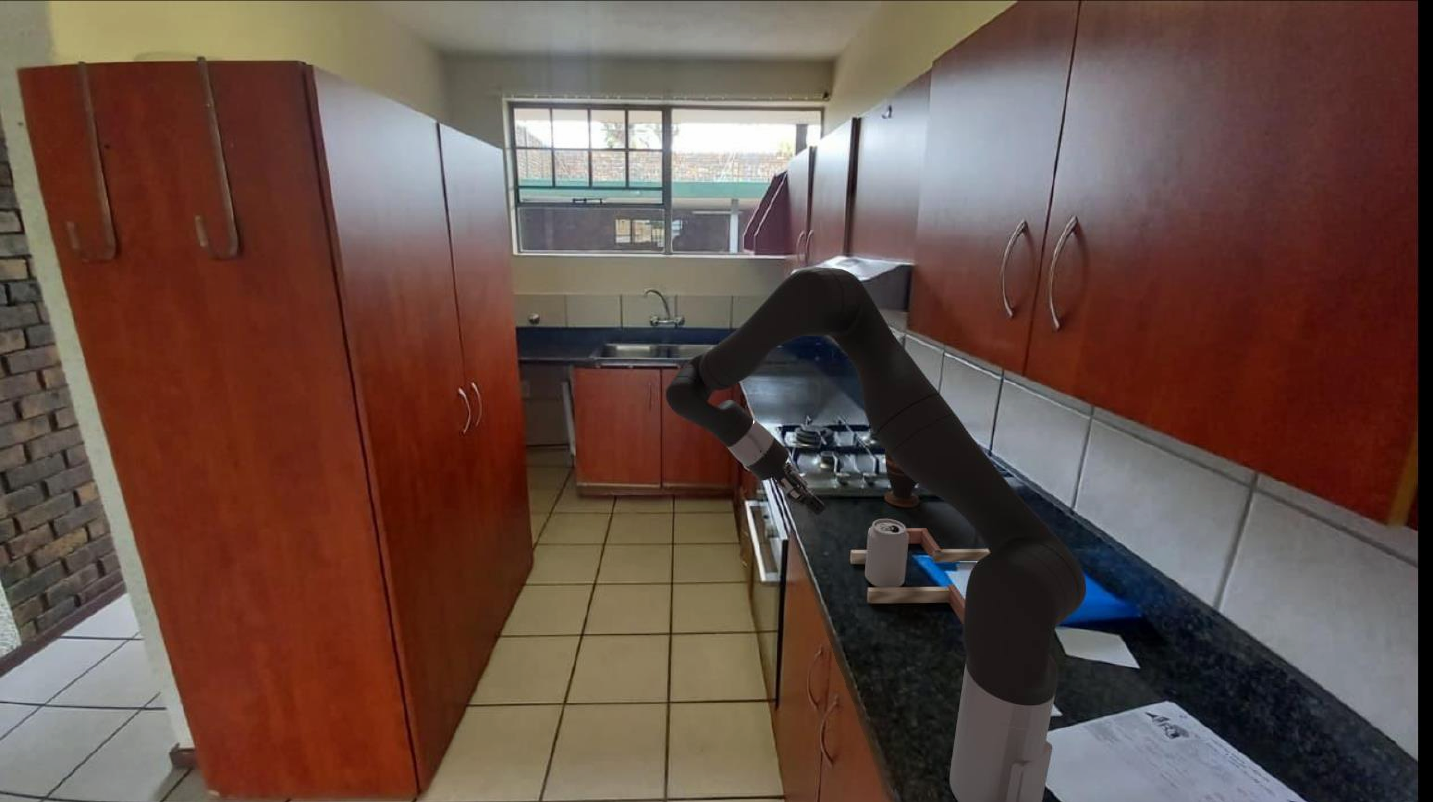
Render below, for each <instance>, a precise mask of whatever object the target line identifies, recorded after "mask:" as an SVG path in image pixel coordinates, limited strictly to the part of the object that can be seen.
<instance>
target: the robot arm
mask: <svg viewBox="0 0 1433 802" xmlns="http://www.w3.org/2000/svg"><path fill="white" fill-rule="evenodd" d="M804 336H807V337H824V336H825V337H826V336H827V337H828V336H829V337H830V338H831V339H833V340H834V342H836V344H837V345H838V346H839V347H840V349H841V350H842V351H843V353H844V354H845V355H846V357H847V358H848V359H849V360H850V362H851V364H852V365H853V368H854V369H855V371H856V373H857V376H858V379H859V383H860V389H861V397H862V404H863V408H864V412H865V413H864V414H865V416H866V419H867V422H868V424H869V426H870V428H871V430H872V431H873V433H874V435H875V436H876V437H877V439H878V441H879V442H880V443H881V445H882V446H883V448H884V449H886V451H887V452H888V454H889V455H890V457H891V458H892V459H893V461H894V462H895V463H896V464H897V466H898V467H899V468H900V469H901V470H902V471H903V472H904V473H905V474H906V475H908V476H909V477H910V478H911V479H913V480H914V481H915V482H917V485H919V486H921V487H923V488H924V489H925V490H927V491H929V492H930V493H932V494H933V495H935V496H936V497H938V498H939V499H941V500H942V501H944V502H945V503H946V504H948V505H949V506H951V507H952V508H954V510H956V511H957V512H958V513H959V514H960V515H961V516H962V517H963V518H964V519H965V520H966V521H967V522H968V524H969V525H970V526H971V527H972V529H973V530H974V531H975V532H976V534H977V535H978V536H979V538H980V539H981V540H982V543H983V544H984V545H985V547H986V549H988V550H989V551H990V553H989V554H988V555H986V556H985V557H983V558H981V559H980V560H979V561H978V562H977V563H974V565H973V566H972V568H971V571H970V573H969V576H968V579H967V584H966V590H965V597H964V599H965V608H964V620H963V624H962V635H961V636H962V644H963V648H964V651H965V653H966V661H965V665H964V673H963V679H962V685H961V686H962V687H961V693H960V701H959V709H958V715H957V721H956V722H957V723H956V728H955V735H954V736H955V737H954V742H953V749H952V757H951V762H950V773H949V786H950V789H951V791H952V794H953V795H954V797H955V799H956V800H957V802H1043V797H1044V793H1045V788H1046V783H1047V779H1048V772H1049V767H1050V763H1051V759H1052V754H1053V753H1052V752H1053V744H1051V743H1050V742H1048V741H1047V737H1048V733H1049V728H1050V722H1051V718H1052V717H1051V716H1052V712H1053V706H1054V702H1055V701H1054V700H1055V698H1056V697H1055V696H1056V692H1057V689H1058V683H1059V676H1060V675H1059V673H1060V671H1059V668H1058V663H1057V662H1056V660H1055V658H1054V657H1053V656H1052V654H1051V649H1052V644H1053V637H1054V633H1055V630H1056V628H1057V627H1058V626H1060V625H1061V624H1062V623H1063V622H1064V621H1065V620H1066V619H1068V618H1069V617H1070V616H1072V614H1074V613H1075V612H1076V611H1077V610H1078V609H1079V607H1081V605H1082V604H1083V602H1084V600H1085V599H1086V595H1087V583H1086V578H1085V574H1084V571H1083V569H1082V567H1081V566H1080V564H1079V562H1078V561H1077V559H1076V557H1075V555H1074V554H1073V553H1072V552H1071V551H1070V550H1069V548H1068V547H1067V546H1066V544H1064V543H1063V542H1062V540H1061V539H1060V538H1059V537H1058V536H1057V535H1056V534H1055V532H1054V531H1053V530H1052V529H1050V527H1049V526H1048V525H1047V524H1046V523H1045V522H1044V521H1043V520H1042V519H1041V518H1040V516H1039V515H1038V514H1037V513H1036V512H1035V511H1034V510H1033V509H1032V508H1031V507H1030V506H1029V505H1028V504H1027V503H1026V502H1025V500H1024V499H1022V497H1021V496H1020V495H1019V494H1018V493H1017V491H1016V490H1015V489H1014V488H1013V487H1012V486H1011V484H1010V483H1009V482H1008V481H1007V480H1006V478H1005V477H1004V476H1003V475H1002V473H1001V472H1000V470H999V469H998V468H997V467H996V466H995V463H993V462H992V460H991V459H990V458H989V456H988V455H987V454H986V453H985V451H984V450H983V449H982V448H981V446H980V445H979V444H978V443H977V442H976V441H975V439H974V438H973V437H972V435H971V434H970V432H969V431H968V430H967V428H966V427H965V426H964V423H963V422H962V421H961V419H959V418H960V417H958V415H957V413H955V411H954V410H953V409H952V407H951V406H950V405H949V404H948V402H947V401H946V400H945V399H944V397H943V396H942V395H941V393H940V392H939V390H938V389H936V387H935V386H934V385H933V384H932V382H931V381H930V380H929V378H928V377H927V376H926V375H925V373H923V371H922V370H921V369H920V367H919V366H918V364H917V363H916V361H915V360H914V359H913V358H912V356H911V355H910V354H909V352H908V351H907V350H906V349H905V348H904V346H903V345H902V344H901V342H900V341H899V340H898V338H897V337H896V336H895V334H894V333H893V331H892V330H891V328H890V326H889V325H888V324H887V322H886V320H885V318H884V316H883V315H882V314H881V311H880V310H879V308H878V307H877V305H876V303H875V302H874V300H873V298H872V297H871V295H870V294H869V291H868V290H867V289H866V287H865V285H864V284H863V283H862V282H861V280H860V279H859V278H858V277H857V276H856V275H855V274H853V272H850V271H848V270H845V269H843V268H838V267H837V268H835V267H819V266H810V267H802V268H799V269H798V270H796V271H794V272H792V273H791V274H789V276H788V277H787V278H786V279H785V280H784V281H782V283H780V284H779V286H778V287H777V288H776V289H775V290H774V291H773V292H772V293H771V294H770V296H769V297H768V298H767V299H766V300H765V301H764V302H763V303H762V304H761V305H760V306H759V307H758V309H756V311H754V312H753V314H752V315H751V316H750V317H749V318H748V319H747V320H746V321H745V322H744V323H743V324H742V325H741V326H739V328H737V329H736V330H735V331H734V332H732V333H731V334H730V335H729V336H727V337H726V338H725V339H723V340H722V341H720V342H719V343H718V344H716V345H714V347H712V348H711V349H710V350H708V351H707V352H704V353H701V354H699V355H696V356H695V357H693V358H691V359H690V360H688V361H687V362H686V363H685V364H684V365H683V366H682V368H681V369H680V370H679V371H678V373H677V374H676V375H675V377H674V378H673V380H671V382H670V383H669V384H668V386H667V388H666V390H665V399H666V402H667V404H668V406H669V407H670V409H671V410H672V411H673V412H674V413H675V414H677V415H679V416H680V417H682V418H684V419H685V420H686V421H687V420H688V422H689V421H690V422H691V423H693V424H695V425H696V426H699V427H700V428H702V429H704V430H706V431H708V432H709V433H711V434H712V435H713V436H714V437H716V439H718V441H719V442H721V444H722V445H724V446H725V447H726V449H728V450H729V451H730V453H731V454H732V455H733V456H734V458H736V459H737V460H738V461H739V462H740V463H741V464H742V465H743V466H744V467H745V468H746V469H747V470H748V471H750V472H751V474H753V475H754V476H755V477H756V478H757V479H758V480H759V481H761V482H762V481H763V482H764V481H769V479H774V480H775V485H776V486H777V487H778V488H779V489H780V490H783V491H785V493H786V497H787V499H789V500H791V501H793V502H794V503H796V504H798V505H800V506H801V507H803V506H804V505H806V506H807V507H808V509H810V510H811V512H813V513H814V514H815V515H817V516H818V515H820V514H822V513H823V512H824V511H825V510H826V506H825V503H824V502H823V501H822V500H821V499H820V498H818V497H817V496H816V494H814V493H813V491H812V488H811V487H809V484H808V483H807V481H806V480H805V479H804V478H803V476H801V474H800V473H799V472H798V471H797V469H795V466H793V465H792V463H791V462H790V461H789V460H788V459H789V455H790V452H789V449H787V448H786V447H785V446H784V445H783V444H782V443H781V442H780V441H779V440H778V439H777V438H776V437H775V436H774V435H773V434H772V433H771V432H770V431H769V430H768V429H767V428H766V427H764V426H763V425H762V424H761V423H759V422H758V421H757V420H755V419H754V418H753V417H752V416H751V415H750V414H749V413H748V412H747V411H746V410H745V409H744V408H743V407H742V406H741V405H740V404H738V403H737V402H736V401H734V400H732V399H728V400H724V401H722V402H721V403H720V404H718V406H715V405H714V404H711V403H710V402H709V399H710V398H711V396H712V394H713V393H714V392H715V391H724V390H727V389H730V388H732V387H734V386H735V385H737V384H738V383H740V382H742V381H743V380H745V379H747V378H748V377H750V376H751V375H752V374H754V373H755V372H756V371H757V370H758V369H759V368H760V367H761V366H762V365H763V363H764V362H765V359H766V358H767V357H768V355H769V353H771V352H772V351H773V350H774V349H776V348H777V347H779V346H781V345H784V344H785V343H789V342H790V341H792V340H796V339H799V338H801V337H804Z"/></svg>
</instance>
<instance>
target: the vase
mask: <svg viewBox="0 0 1433 802" xmlns="http://www.w3.org/2000/svg"><path fill="white" fill-rule="evenodd" d="M884 449H885V448H884ZM884 453H885V454H884V459H885V460H884V461H885V469H886V474H887V475H886V476H887V477H888V478H887V479H888V482H889V483H890V486H891V490H893V491H891V492H888V491H886V493H885V494H884V500H885V501H886V502H887V503H889V505H892V506H895V507H900V508H906V509H908V508H913V507H916V506H918V505H919V504H920V498H919V496H918V495H917V493H915V492H913V491H914V489H915V488H916V486H917V485H918V483H917V482H915V481H914V480H913V479H911V478H910V477H909V476H908V475H906V474H905V473H904V472H903V471H902V470H901V469H900V468H899V467H898V466H897V464H896V463H895V462H894V461H893V459H892V458H891V457H890V455H889V454H888V452H887V451H886V449H885V452H884Z"/></svg>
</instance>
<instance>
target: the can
mask: <svg viewBox="0 0 1433 802" xmlns="http://www.w3.org/2000/svg"><path fill="white" fill-rule="evenodd" d="M906 528H907V527H906V526H905V524H903V523H902V522H900V521H898V520H895V519H891V518H880V519H877V520H876V519H875V520H874V521H873V522H872V524H871V526H870V527H869V528H868V532H867V543H866V550H867V553H866V564H865V566H864V567H865V569H864V575H865V579H866V580H867V581H868V583H870V584H872V586H874V588H883V587H902V585H903V584H904V583H905V578H906V571H907V569H906V568H907V559H908V548H909V543H908V541H909V535H908V533H907V531H906Z"/></svg>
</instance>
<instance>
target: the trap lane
mask: <svg viewBox="0 0 1433 802" xmlns="http://www.w3.org/2000/svg"><path fill="white" fill-rule="evenodd" d="M906 531H907V533H908V535H909V541H908V544H920V545H921V547H922V548H923V549H924V551H925V552H926V554H927V556H928V557H929V556H930V557H932V559H933V561H934V562H940V561H941V562H957V561H979V560H980V559H981V558H983V557H985V556H986V555H988V554H989V553H990V551H989V550H988V548H948V549H947V548H942V549H941V547H940V546H939V545H938V544H937V542H936V541H935V540H934V538H933V537H932V536H931V534H930V532H929V530H928V529H927V528H926V527H922V528H921V527H920V528H918V527H917V528H915V527H914V528H913V527H911V528H907V527H906ZM866 553H867V549H851V550H850V556H849V557H850V558H849V559H850V561H849V562H850V563H851V565H866ZM930 557H929V558H930ZM933 561H932V562H933ZM866 600H867V603H868V604H928V603H929V604H931V603H932V604H935V603H936V604H937V603H938V604H939V603H940V604H942V603H946V604H947V603H948V604H949V605H950V606H951V608H952V610H953V612H954V613H955V614H956V616H957V617H958V619H959V620H960V622H961V624H962V625H963V620H964V608H965V597H964V596H963V594H962V593H961V592H960V591H959V589H958V588H957V586H956V584H954V583H953V584H952V583H951V584H947V586H909V587H908V586H907V587H906V586H903V587H902V586H899V587H883V588H878V587H867V593H866Z"/></svg>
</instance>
